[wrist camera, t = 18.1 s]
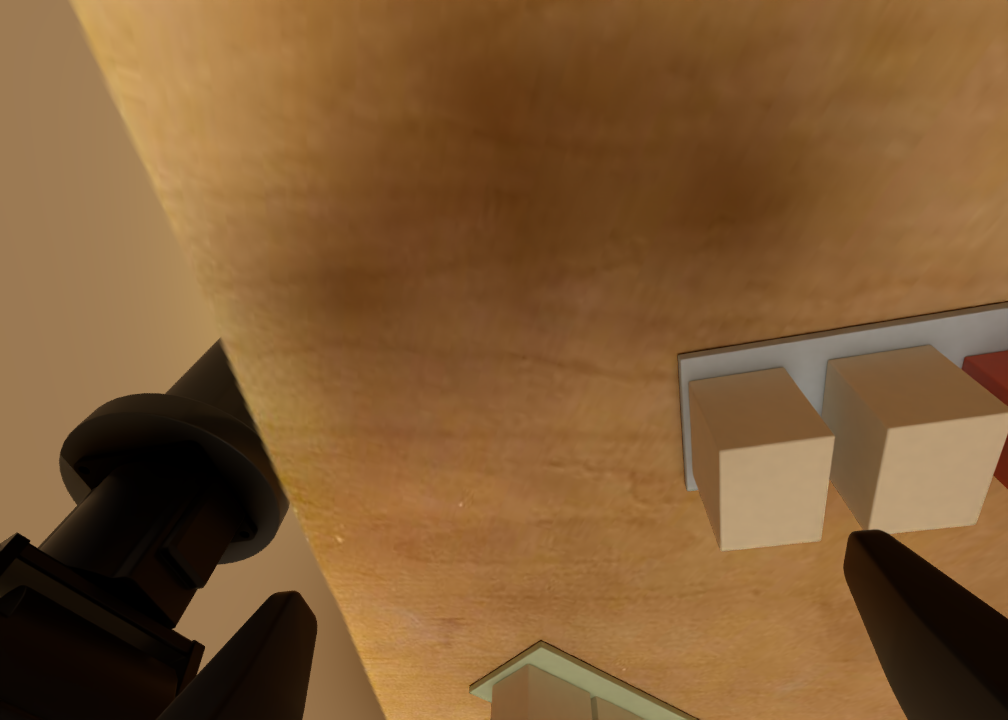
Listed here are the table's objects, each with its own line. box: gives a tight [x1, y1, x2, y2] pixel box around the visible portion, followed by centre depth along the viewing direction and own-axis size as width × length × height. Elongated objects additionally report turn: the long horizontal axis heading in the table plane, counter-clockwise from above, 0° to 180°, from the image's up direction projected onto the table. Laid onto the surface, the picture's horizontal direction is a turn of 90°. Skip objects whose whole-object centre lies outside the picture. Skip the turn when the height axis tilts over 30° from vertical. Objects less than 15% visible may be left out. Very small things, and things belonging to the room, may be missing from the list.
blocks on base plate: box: [678, 302, 1008, 551], centre depth 19 cm, size 16×7×4 cm, turn 102°
